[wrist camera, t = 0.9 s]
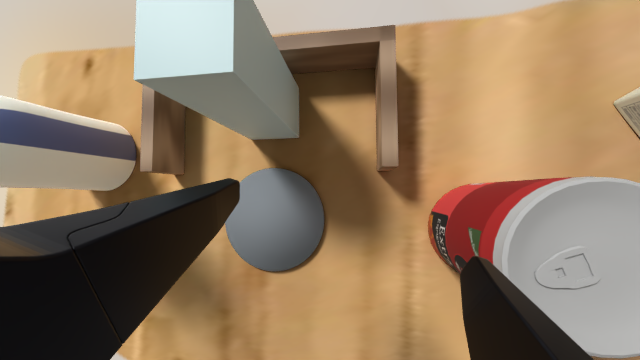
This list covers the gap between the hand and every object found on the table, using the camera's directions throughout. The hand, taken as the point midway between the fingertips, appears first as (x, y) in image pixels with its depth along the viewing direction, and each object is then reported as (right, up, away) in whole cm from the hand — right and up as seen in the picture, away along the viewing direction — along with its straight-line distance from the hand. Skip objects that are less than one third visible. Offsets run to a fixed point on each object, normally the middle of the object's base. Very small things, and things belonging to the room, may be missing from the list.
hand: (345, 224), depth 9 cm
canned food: (+13, -3, +12) cm, 18 cm away
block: (-6, +8, +15) cm, 18 cm away
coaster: (-6, -2, +14) cm, 15 cm away
